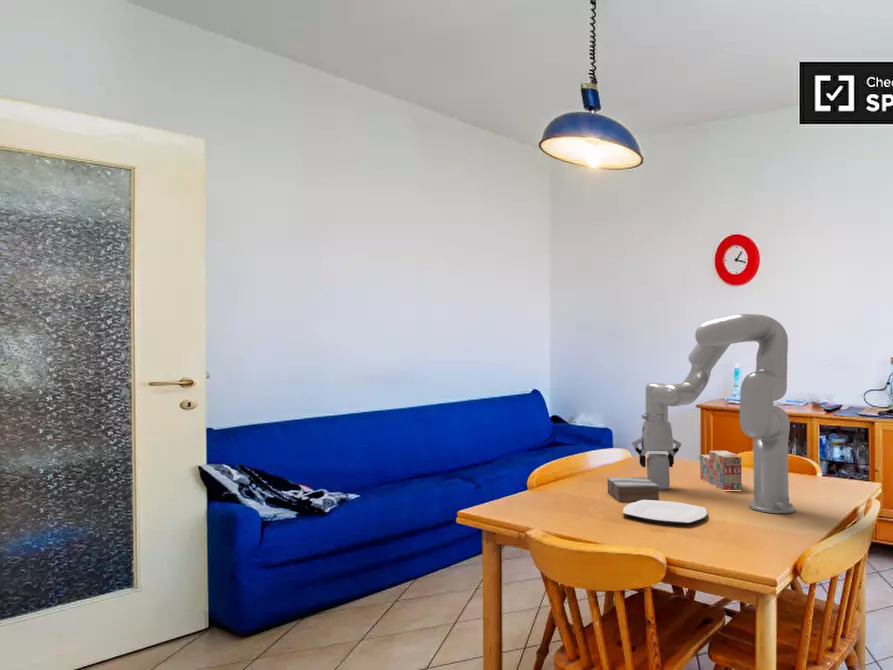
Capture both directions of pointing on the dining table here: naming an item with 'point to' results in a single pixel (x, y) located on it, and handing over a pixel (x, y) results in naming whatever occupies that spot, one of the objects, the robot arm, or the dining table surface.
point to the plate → (665, 511)
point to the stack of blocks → (722, 469)
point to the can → (658, 470)
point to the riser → (633, 489)
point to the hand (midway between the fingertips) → (656, 466)
